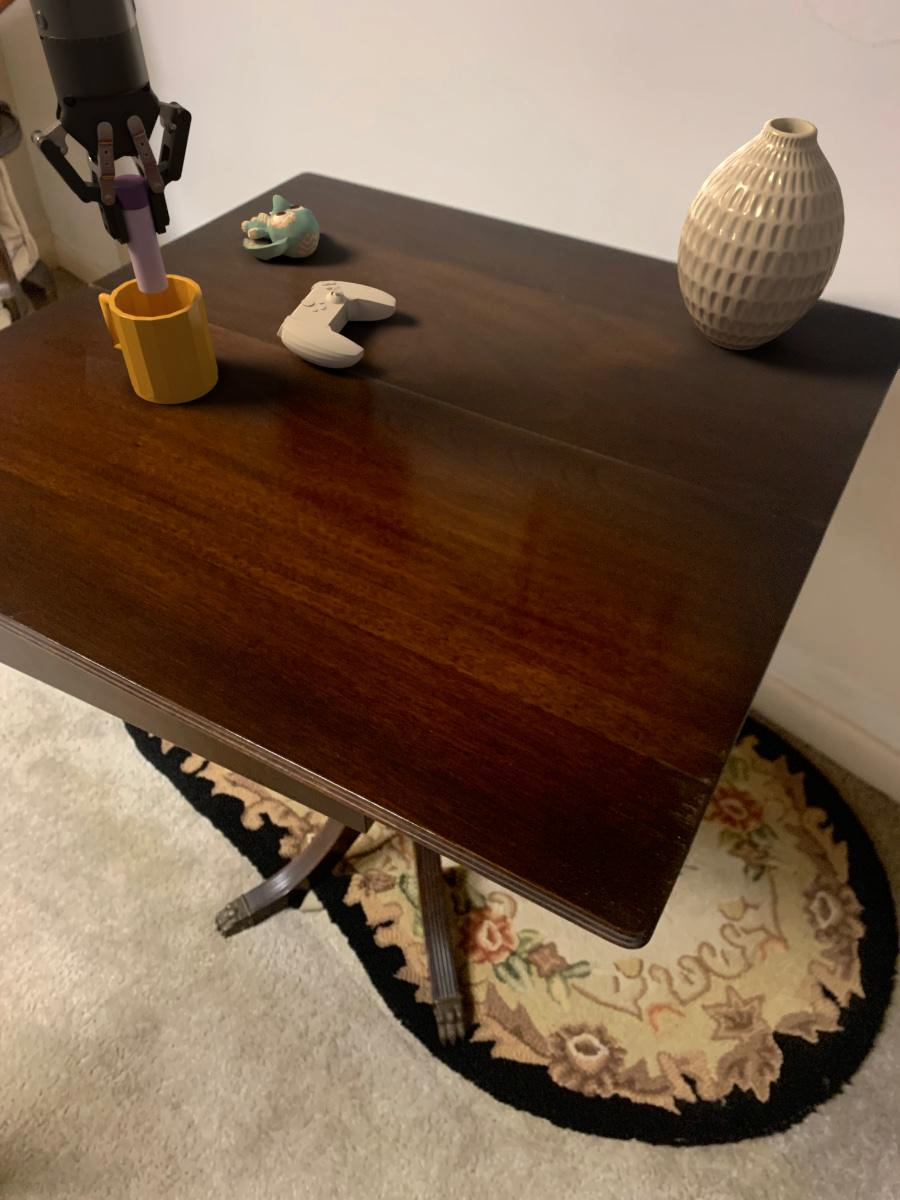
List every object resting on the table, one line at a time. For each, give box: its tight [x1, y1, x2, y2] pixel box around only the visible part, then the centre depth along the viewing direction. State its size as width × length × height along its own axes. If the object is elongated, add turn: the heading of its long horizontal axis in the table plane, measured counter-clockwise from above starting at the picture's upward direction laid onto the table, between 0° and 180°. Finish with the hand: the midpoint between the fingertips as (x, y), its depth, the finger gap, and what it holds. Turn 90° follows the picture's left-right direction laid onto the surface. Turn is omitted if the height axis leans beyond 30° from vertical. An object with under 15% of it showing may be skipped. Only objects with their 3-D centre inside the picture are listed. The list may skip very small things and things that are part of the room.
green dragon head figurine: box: [241, 194, 321, 261], centre depth 111 cm, size 11×7×12 cm
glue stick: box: [114, 173, 168, 294], centre depth 82 cm, size 3×3×10 cm
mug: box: [98, 273, 219, 405], centre depth 90 cm, size 12×9×10 cm
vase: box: [676, 116, 846, 351], centre depth 93 cm, size 16×16×22 cm
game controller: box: [276, 280, 397, 369], centre depth 98 cm, size 14×4×10 cm
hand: (140, 234), depth 82 cm, fingers closed on glue stick, 3 cm apart
